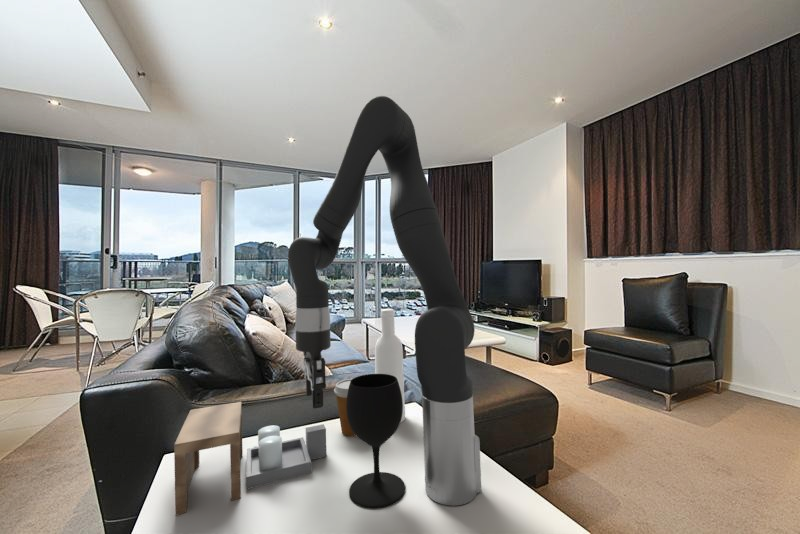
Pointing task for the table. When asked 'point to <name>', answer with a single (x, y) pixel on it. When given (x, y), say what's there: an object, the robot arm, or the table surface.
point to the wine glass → (375, 435)
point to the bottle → (390, 352)
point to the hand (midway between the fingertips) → (314, 400)
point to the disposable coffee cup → (343, 405)
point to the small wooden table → (207, 446)
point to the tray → (283, 455)
